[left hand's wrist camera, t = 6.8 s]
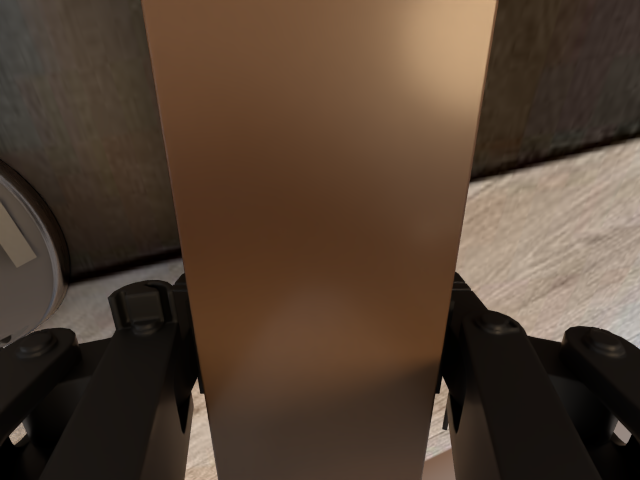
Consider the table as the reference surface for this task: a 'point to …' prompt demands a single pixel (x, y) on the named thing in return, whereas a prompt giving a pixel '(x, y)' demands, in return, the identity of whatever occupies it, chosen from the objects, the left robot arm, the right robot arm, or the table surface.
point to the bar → (319, 217)
